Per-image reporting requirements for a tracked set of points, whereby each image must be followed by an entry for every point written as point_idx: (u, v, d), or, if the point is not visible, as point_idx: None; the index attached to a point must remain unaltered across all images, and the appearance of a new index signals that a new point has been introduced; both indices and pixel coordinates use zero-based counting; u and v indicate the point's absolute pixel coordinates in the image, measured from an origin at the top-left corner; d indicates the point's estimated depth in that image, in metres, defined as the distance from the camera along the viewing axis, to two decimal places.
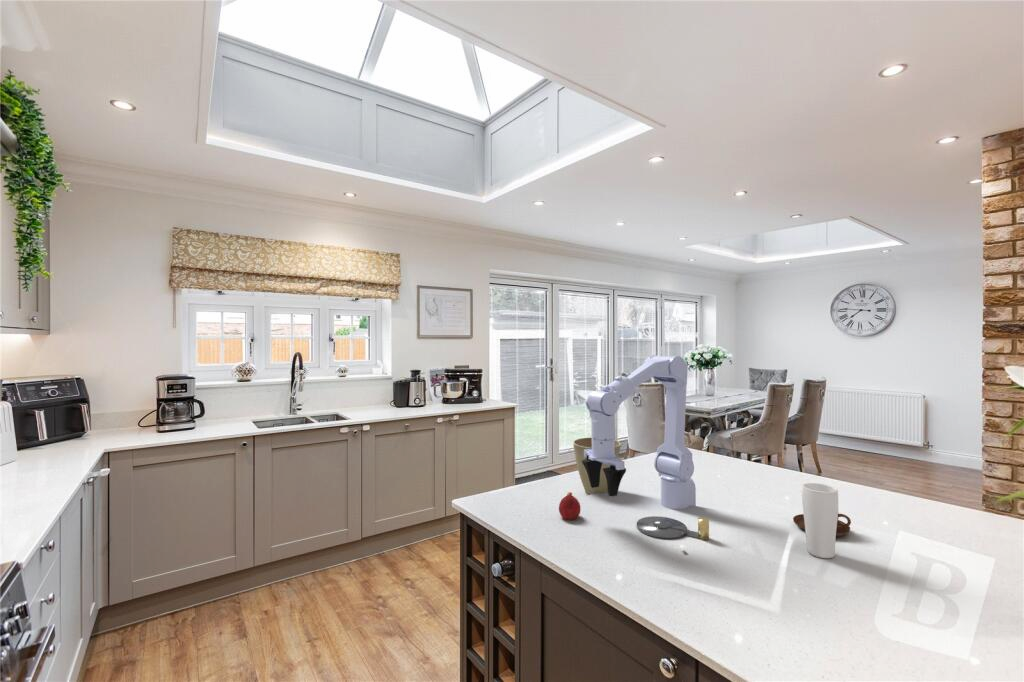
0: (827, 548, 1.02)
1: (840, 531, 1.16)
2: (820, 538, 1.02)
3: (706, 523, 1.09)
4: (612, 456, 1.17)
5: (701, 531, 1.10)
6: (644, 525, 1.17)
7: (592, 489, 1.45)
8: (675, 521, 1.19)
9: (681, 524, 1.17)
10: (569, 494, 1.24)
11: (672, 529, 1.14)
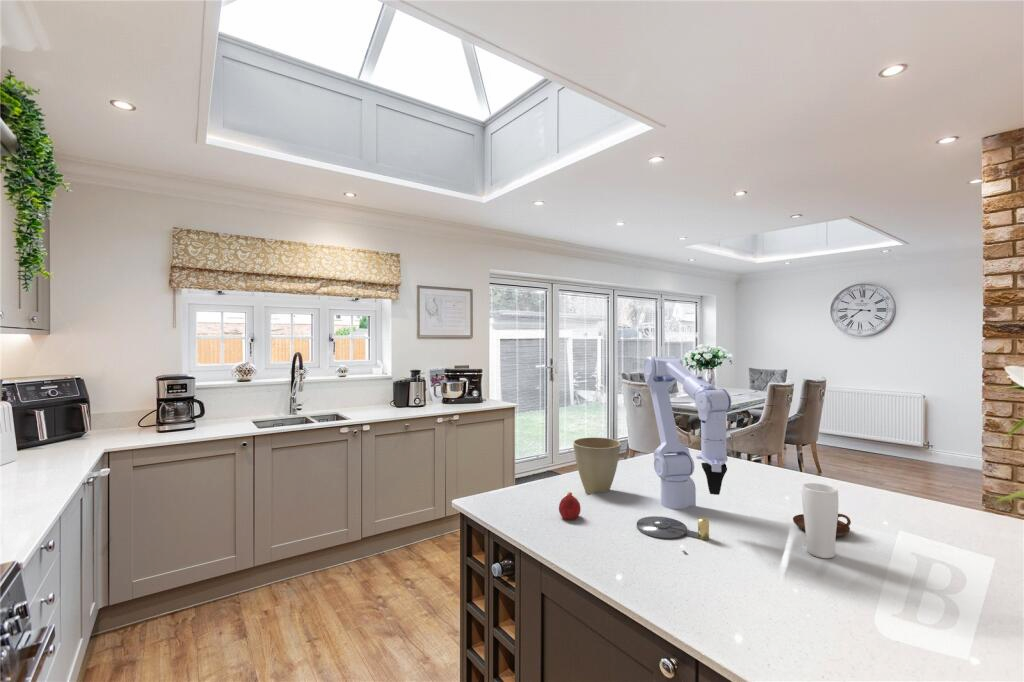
0: (827, 548, 1.02)
1: (840, 531, 1.16)
2: (820, 538, 1.02)
3: (706, 523, 1.09)
4: (718, 458, 1.12)
5: (701, 531, 1.10)
6: (644, 525, 1.17)
7: (592, 489, 1.45)
8: (675, 521, 1.19)
9: (681, 524, 1.17)
10: (569, 494, 1.24)
11: (672, 529, 1.14)
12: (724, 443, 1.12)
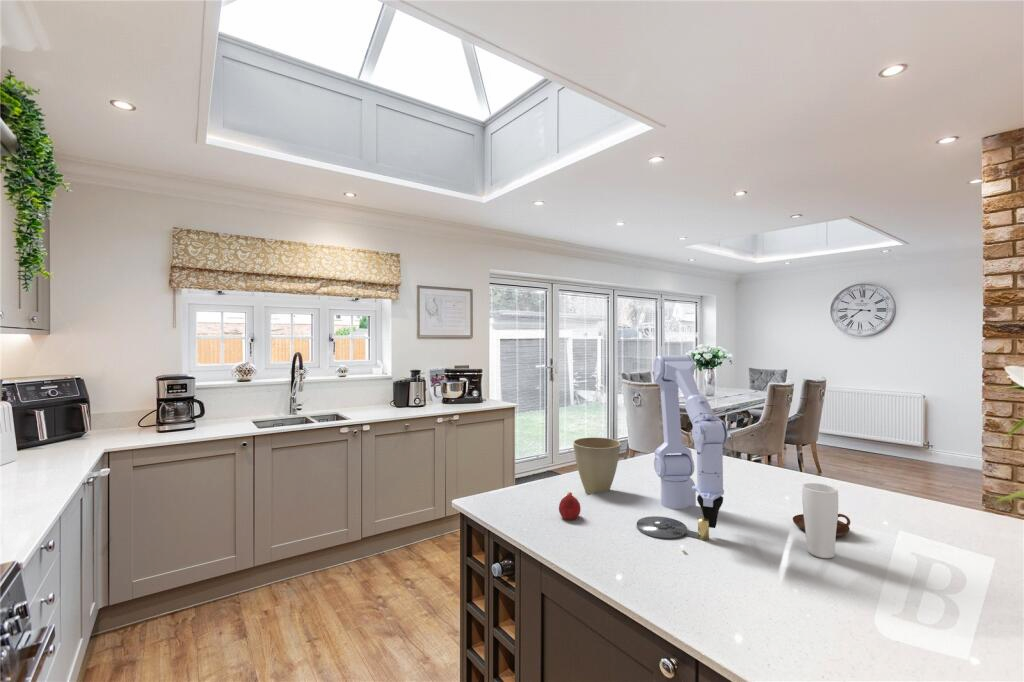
0: (827, 548, 1.02)
1: (839, 531, 1.15)
2: (820, 538, 1.02)
3: (706, 523, 1.09)
4: (713, 491, 1.09)
5: (701, 531, 1.10)
6: (644, 525, 1.17)
7: (592, 489, 1.45)
8: (675, 521, 1.19)
9: (681, 524, 1.17)
10: (569, 494, 1.24)
11: (672, 529, 1.14)
12: (719, 476, 1.09)
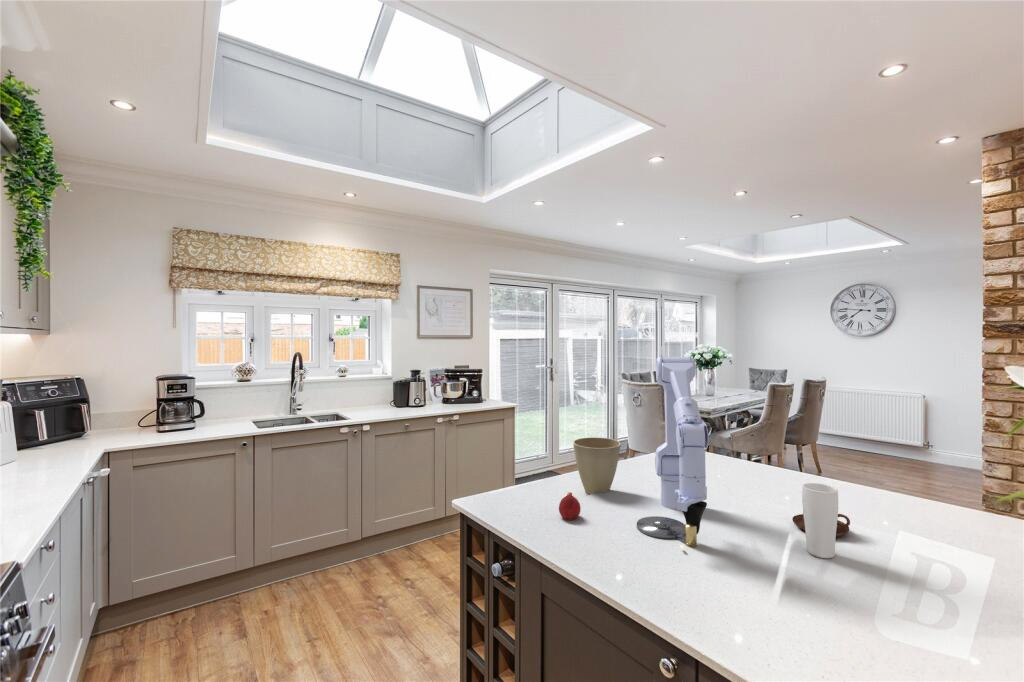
0: (827, 548, 1.02)
1: (839, 531, 1.15)
2: (820, 538, 1.02)
3: (691, 529, 1.06)
4: (692, 496, 1.06)
5: (686, 536, 1.07)
6: (645, 521, 1.19)
7: (592, 489, 1.45)
8: (681, 525, 1.16)
9: (683, 529, 1.14)
10: (569, 494, 1.24)
11: (667, 530, 1.13)
12: (700, 481, 1.06)
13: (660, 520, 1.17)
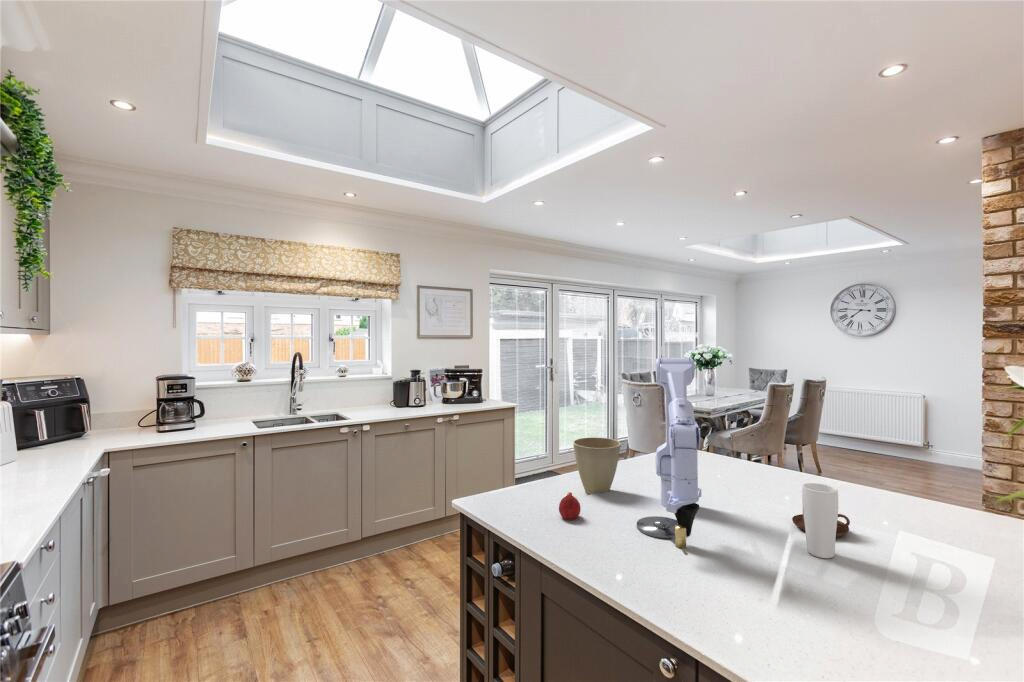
0: (827, 548, 1.02)
1: (839, 531, 1.15)
2: (820, 538, 1.02)
3: (679, 530, 1.06)
4: (683, 498, 1.05)
5: (675, 537, 1.07)
6: (648, 520, 1.20)
7: (592, 489, 1.45)
8: None
9: None
10: (569, 494, 1.24)
11: (663, 530, 1.13)
12: (691, 483, 1.05)
13: (661, 520, 1.17)
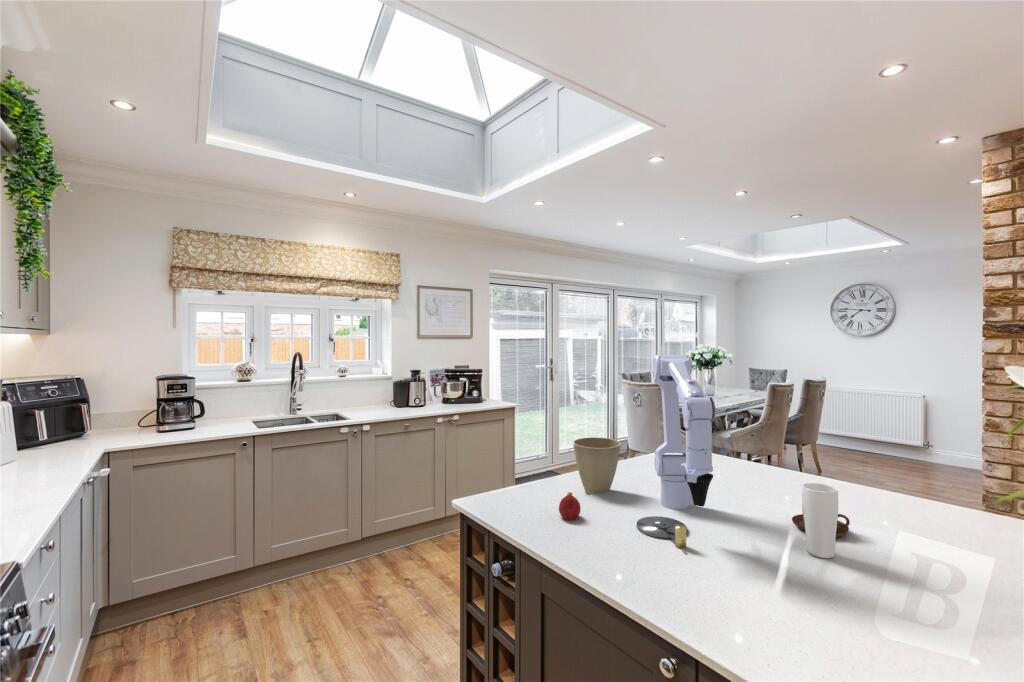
0: (827, 548, 1.02)
1: (839, 531, 1.15)
2: (820, 538, 1.02)
3: (679, 530, 1.06)
4: (699, 468, 1.07)
5: (675, 537, 1.07)
6: (648, 520, 1.20)
7: (592, 489, 1.45)
8: None
9: None
10: (569, 494, 1.24)
11: (663, 530, 1.13)
12: (707, 453, 1.07)
13: (661, 520, 1.17)
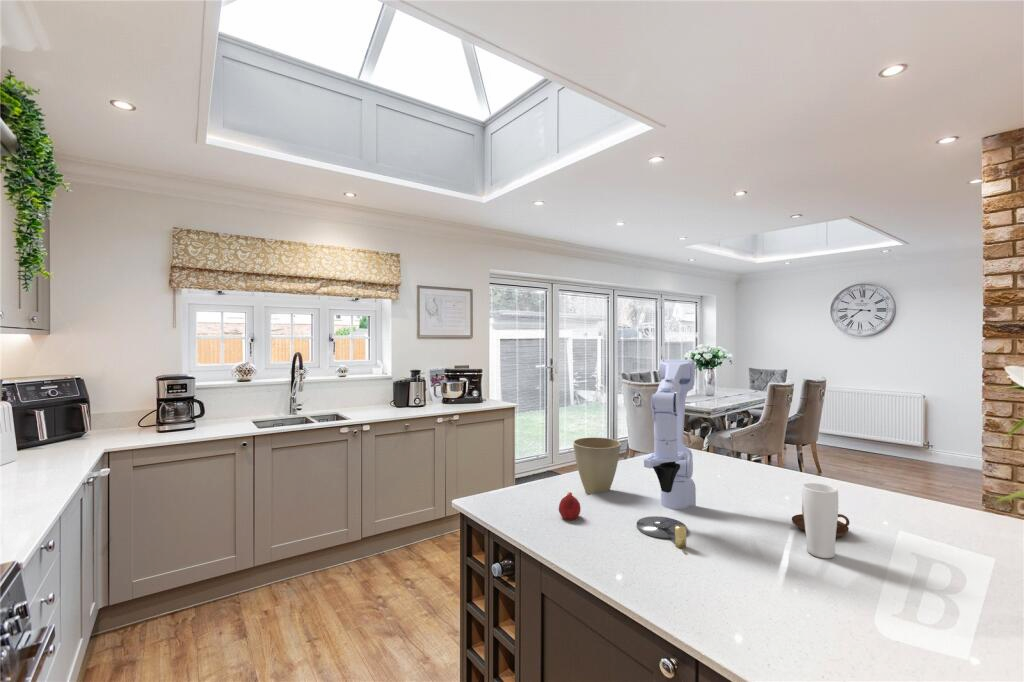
0: (827, 548, 1.02)
1: (839, 531, 1.15)
2: (820, 538, 1.02)
3: (679, 530, 1.06)
4: (661, 457, 1.18)
5: (675, 537, 1.07)
6: (648, 520, 1.20)
7: (592, 489, 1.45)
8: None
9: None
10: (569, 494, 1.24)
11: (663, 530, 1.13)
12: (668, 444, 1.17)
13: (661, 520, 1.17)
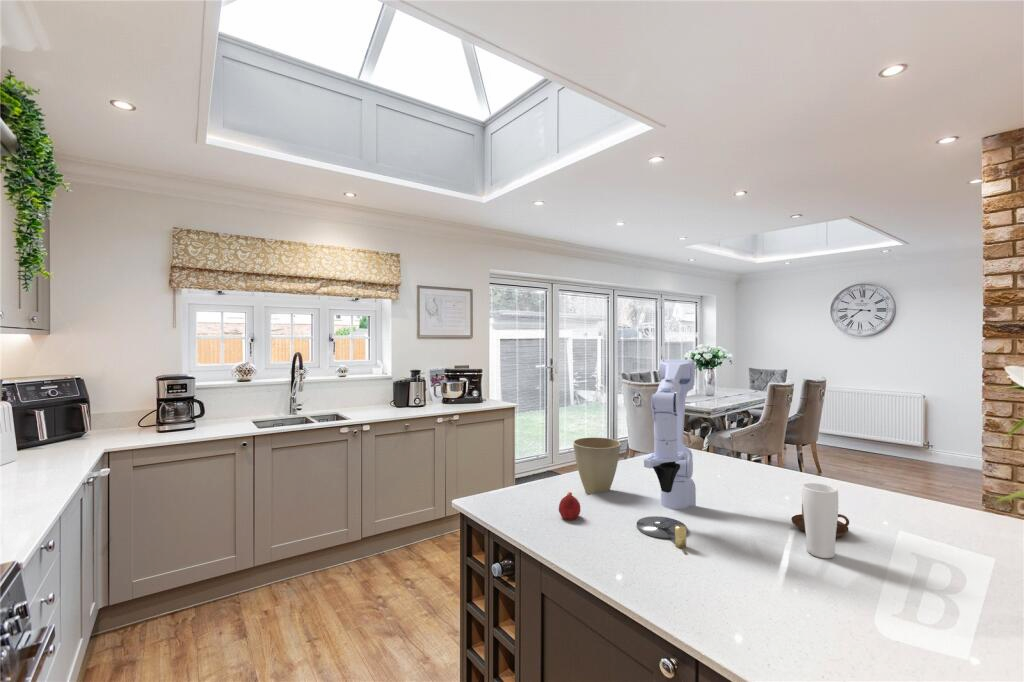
0: (827, 548, 1.02)
1: (838, 531, 1.15)
2: (820, 538, 1.02)
3: (679, 530, 1.06)
4: (661, 457, 1.18)
5: (675, 537, 1.07)
6: (648, 520, 1.20)
7: (592, 489, 1.45)
8: None
9: None
10: (569, 494, 1.24)
11: (663, 530, 1.13)
12: (668, 444, 1.17)
13: (661, 520, 1.17)
